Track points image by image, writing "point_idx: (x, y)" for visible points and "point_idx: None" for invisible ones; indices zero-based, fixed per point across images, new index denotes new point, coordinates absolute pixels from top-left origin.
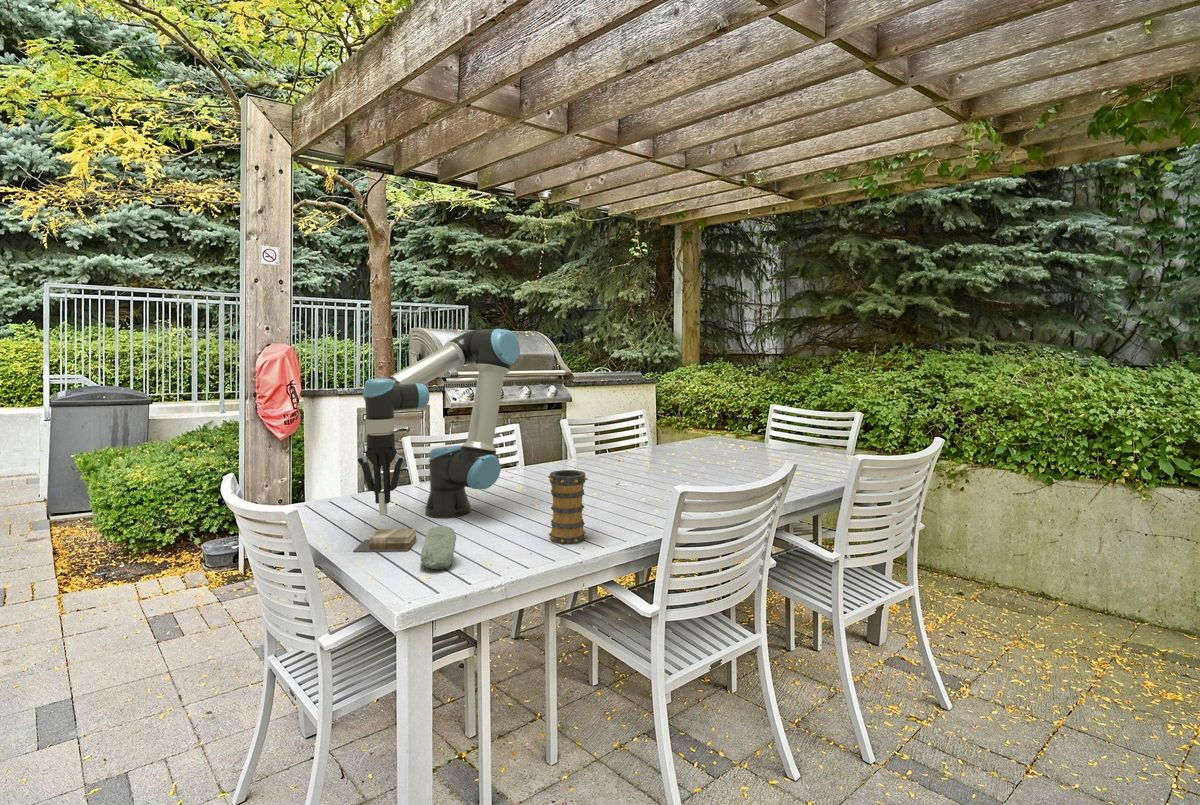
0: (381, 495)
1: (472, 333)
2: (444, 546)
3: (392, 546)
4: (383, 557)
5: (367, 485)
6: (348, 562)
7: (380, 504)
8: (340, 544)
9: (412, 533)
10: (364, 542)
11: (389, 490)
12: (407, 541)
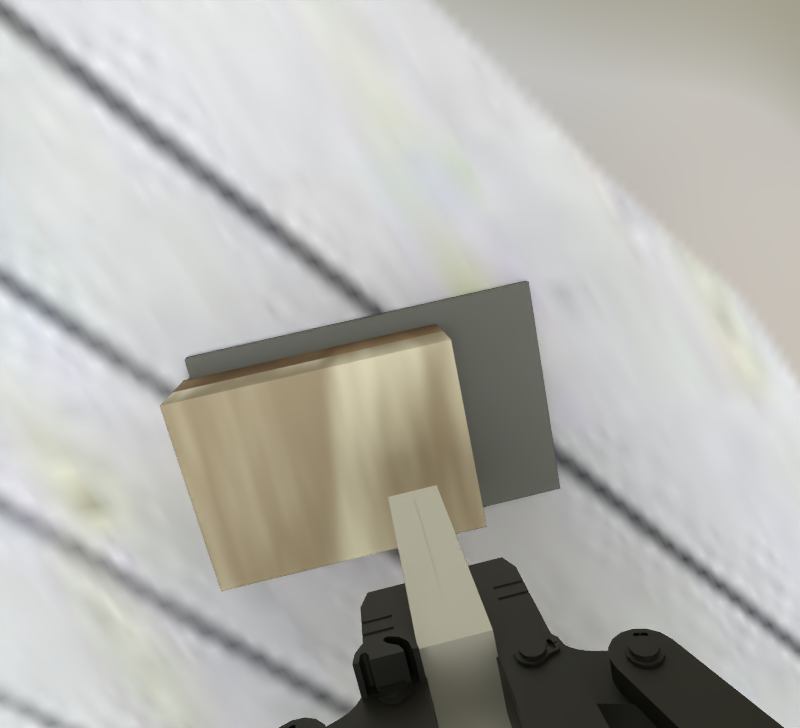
0: (446, 619)
1: None
2: None
3: (289, 361)
4: (278, 222)
5: (719, 684)
6: (453, 86)
7: (441, 545)
8: (671, 398)
9: (192, 500)
10: (537, 440)
11: (353, 723)
12: (178, 393)
